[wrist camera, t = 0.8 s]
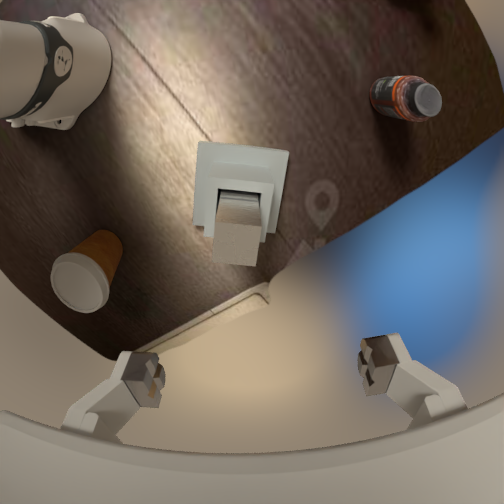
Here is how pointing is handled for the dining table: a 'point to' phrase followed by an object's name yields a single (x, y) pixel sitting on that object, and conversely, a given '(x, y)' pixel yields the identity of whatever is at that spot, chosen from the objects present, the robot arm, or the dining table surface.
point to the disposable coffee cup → (87, 272)
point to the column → (237, 228)
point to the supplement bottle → (405, 98)
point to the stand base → (238, 180)
